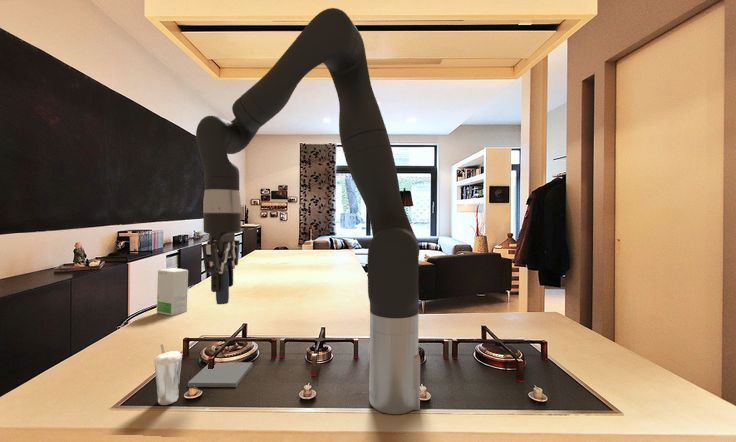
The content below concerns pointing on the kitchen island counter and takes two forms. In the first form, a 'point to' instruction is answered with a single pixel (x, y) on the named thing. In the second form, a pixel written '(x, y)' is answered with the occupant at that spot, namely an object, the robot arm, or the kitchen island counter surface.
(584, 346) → the kitchen island counter surface
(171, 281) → the skincare box
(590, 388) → the kitchen island counter surface
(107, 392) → the kitchen island counter surface
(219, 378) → the charcoal mat
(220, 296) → the vaping device
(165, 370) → the milkshake
